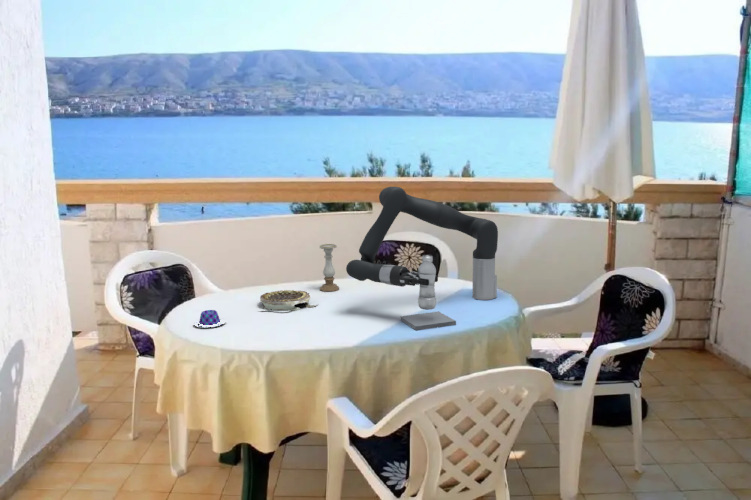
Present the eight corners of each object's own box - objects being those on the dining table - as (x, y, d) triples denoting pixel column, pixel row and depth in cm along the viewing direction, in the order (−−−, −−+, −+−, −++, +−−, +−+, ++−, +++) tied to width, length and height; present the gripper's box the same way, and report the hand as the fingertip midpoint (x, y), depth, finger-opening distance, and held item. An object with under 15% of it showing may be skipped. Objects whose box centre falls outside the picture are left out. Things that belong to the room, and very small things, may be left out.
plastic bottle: (435, 312, 235) (435, 257, 231) (416, 311, 236) (417, 257, 232) (437, 307, 241) (437, 254, 237) (418, 306, 242) (419, 253, 239)
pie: (238, 310, 263) (238, 298, 262) (273, 295, 288) (273, 284, 287) (299, 316, 252) (299, 304, 251) (330, 300, 277) (330, 289, 276)
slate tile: (438, 315, 249) (438, 311, 248) (456, 324, 236) (456, 320, 235) (400, 320, 243) (400, 316, 243) (415, 330, 230) (415, 326, 230)
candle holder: (343, 288, 294) (341, 244, 290) (331, 292, 287) (330, 247, 283) (327, 286, 299) (326, 243, 295) (315, 290, 292) (314, 246, 288)
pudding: (190, 323, 245) (189, 310, 244) (221, 318, 251) (220, 305, 250) (197, 331, 235) (196, 317, 234) (230, 326, 240) (229, 313, 239)
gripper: (383, 269, 238) (423, 274, 228) (404, 262, 249) (442, 267, 240) (383, 288, 239) (423, 295, 230) (404, 281, 251) (442, 286, 242)
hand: (433, 280), depth 235 cm, fingers closed on plastic bottle, 6 cm apart
